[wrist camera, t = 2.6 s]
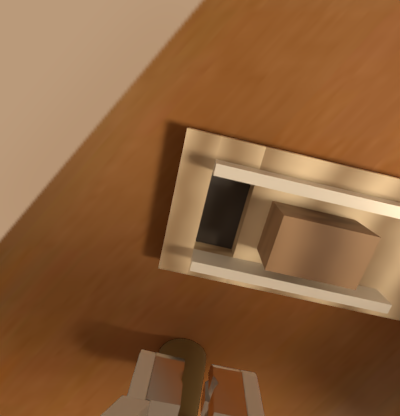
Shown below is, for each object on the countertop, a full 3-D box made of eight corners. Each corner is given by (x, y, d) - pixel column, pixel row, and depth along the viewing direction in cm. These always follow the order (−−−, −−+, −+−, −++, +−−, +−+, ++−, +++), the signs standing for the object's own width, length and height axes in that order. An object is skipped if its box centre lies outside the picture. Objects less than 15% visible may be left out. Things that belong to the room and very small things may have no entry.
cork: (156, 373, 35) (133, 483, 24) (159, 335, 33) (136, 437, 22) (203, 378, 35) (201, 491, 24) (209, 341, 33) (209, 445, 22)
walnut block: (355, 219, 25) (381, 237, 21) (334, 265, 27) (355, 290, 23) (272, 200, 25) (284, 215, 21) (256, 248, 26) (264, 270, 23)
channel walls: (418, 206, 25) (440, 216, 22) (372, 297, 28) (387, 313, 25) (215, 158, 24) (216, 163, 22) (191, 257, 27) (189, 270, 25)
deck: (528, 209, 26) (553, 215, 25) (454, 322, 31) (470, 336, 29) (188, 127, 25) (187, 128, 23) (161, 258, 29) (158, 268, 27)
